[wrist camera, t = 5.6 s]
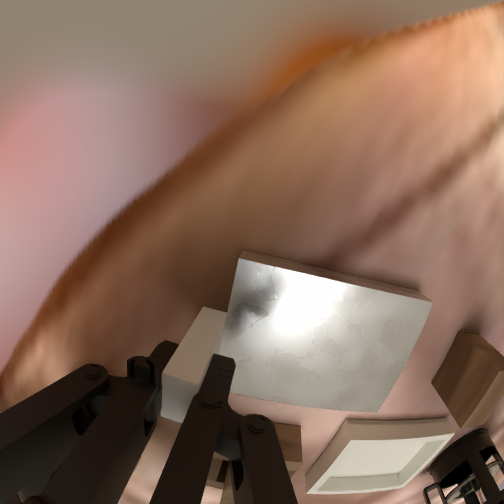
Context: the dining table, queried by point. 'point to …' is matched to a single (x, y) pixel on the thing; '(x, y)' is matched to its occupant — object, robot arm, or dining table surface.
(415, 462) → the tray
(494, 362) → the wooden block
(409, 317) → the plate
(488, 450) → the french press
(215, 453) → the socket block
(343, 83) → the dining table surface
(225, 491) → the dowel
